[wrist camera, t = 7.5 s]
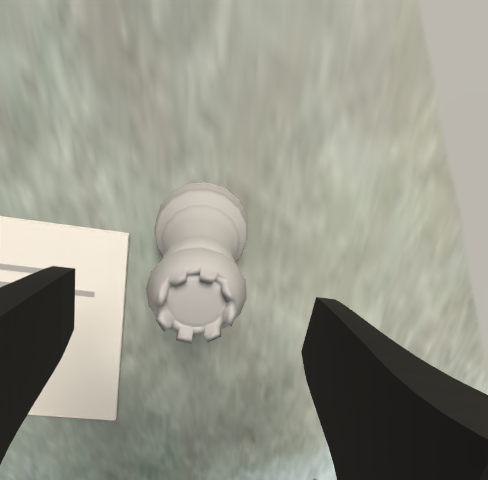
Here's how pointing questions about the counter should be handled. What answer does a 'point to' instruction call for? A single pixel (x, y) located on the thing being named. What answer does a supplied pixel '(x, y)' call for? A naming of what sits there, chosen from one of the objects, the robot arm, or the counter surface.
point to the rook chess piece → (198, 262)
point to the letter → (76, 310)
